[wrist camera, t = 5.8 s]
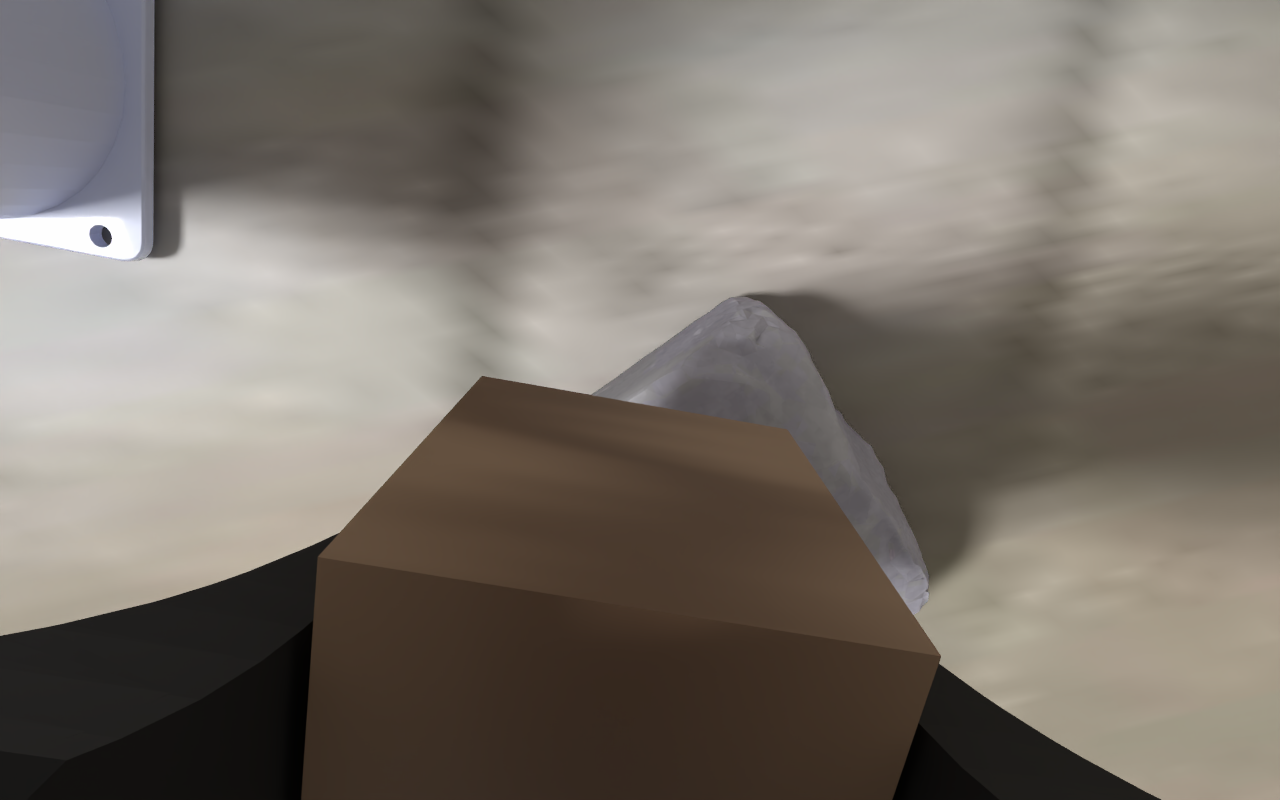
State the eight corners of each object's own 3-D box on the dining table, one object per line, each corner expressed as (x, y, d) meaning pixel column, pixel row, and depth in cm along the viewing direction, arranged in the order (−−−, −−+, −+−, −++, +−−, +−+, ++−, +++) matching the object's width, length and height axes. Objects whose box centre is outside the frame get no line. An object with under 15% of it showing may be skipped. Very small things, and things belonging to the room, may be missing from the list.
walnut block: (447, 645, 13) (285, 1023, 7) (481, 376, 11) (318, 556, 5) (722, 687, 13) (794, 1085, 7) (787, 429, 11) (940, 656, 6)
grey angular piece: (910, 504, 21) (735, 246, 17) (996, 617, 17) (790, 310, 13) (602, 693, 24) (383, 504, 20) (610, 834, 19) (333, 630, 15)
